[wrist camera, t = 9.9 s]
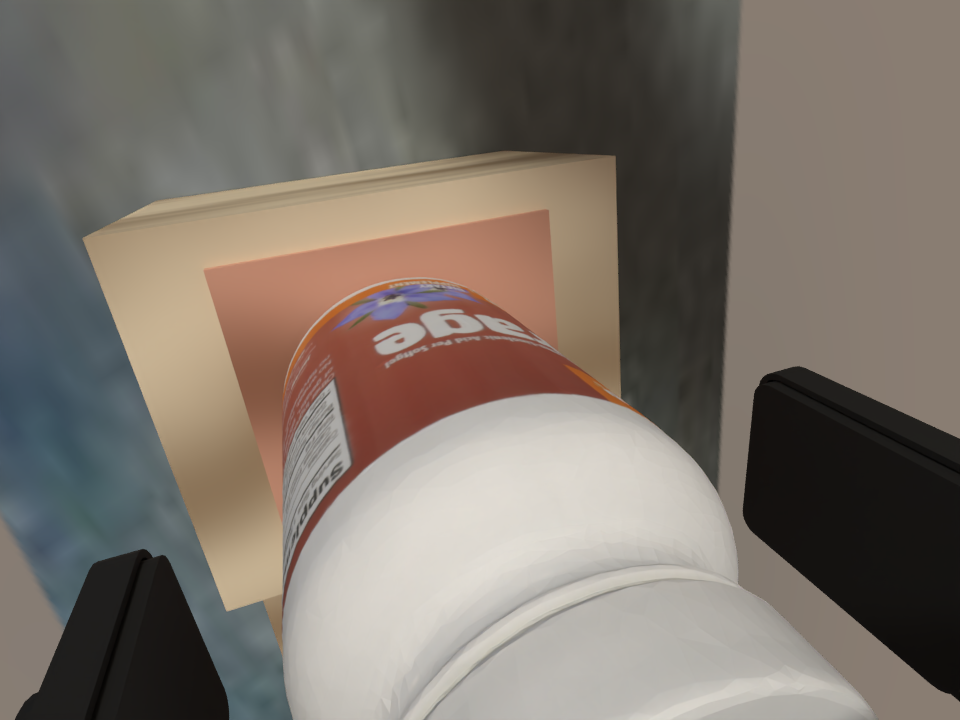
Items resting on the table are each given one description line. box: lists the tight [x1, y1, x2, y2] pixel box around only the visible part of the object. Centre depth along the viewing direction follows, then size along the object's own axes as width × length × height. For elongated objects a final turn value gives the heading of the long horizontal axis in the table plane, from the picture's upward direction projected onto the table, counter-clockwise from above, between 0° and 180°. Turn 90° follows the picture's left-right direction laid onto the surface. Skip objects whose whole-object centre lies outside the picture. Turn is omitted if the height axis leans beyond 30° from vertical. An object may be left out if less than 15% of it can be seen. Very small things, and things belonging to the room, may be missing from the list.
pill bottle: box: [282, 277, 878, 720], centre depth 10 cm, size 6×6×11 cm
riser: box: [83, 151, 621, 656], centre depth 20 cm, size 18×12×8 cm, turn 8°
